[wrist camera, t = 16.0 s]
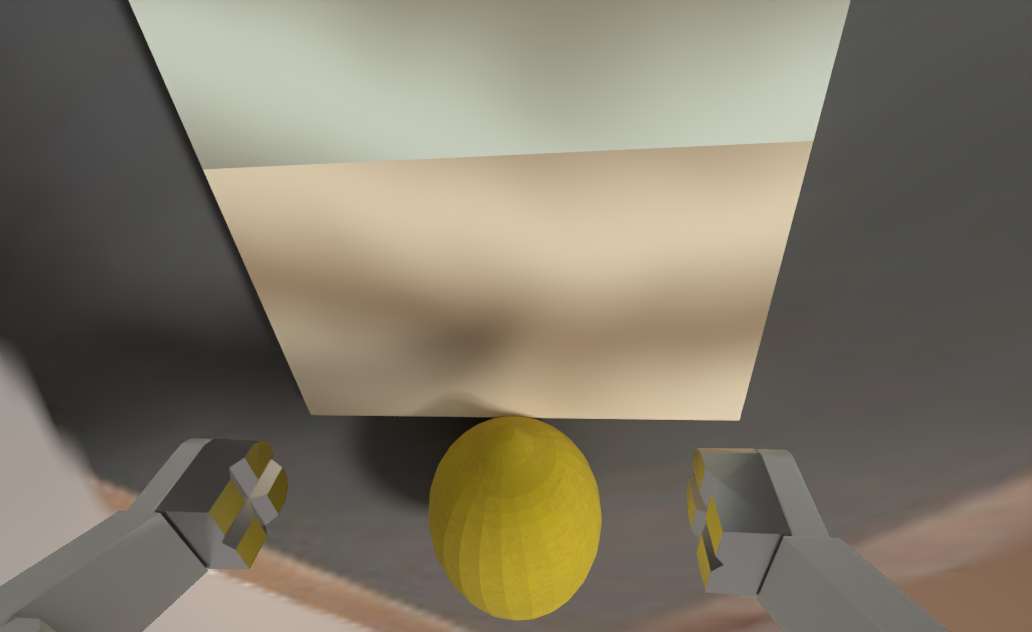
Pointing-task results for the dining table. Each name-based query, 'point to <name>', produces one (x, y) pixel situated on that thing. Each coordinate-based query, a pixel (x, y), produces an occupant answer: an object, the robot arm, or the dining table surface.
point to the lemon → (515, 517)
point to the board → (506, 191)
